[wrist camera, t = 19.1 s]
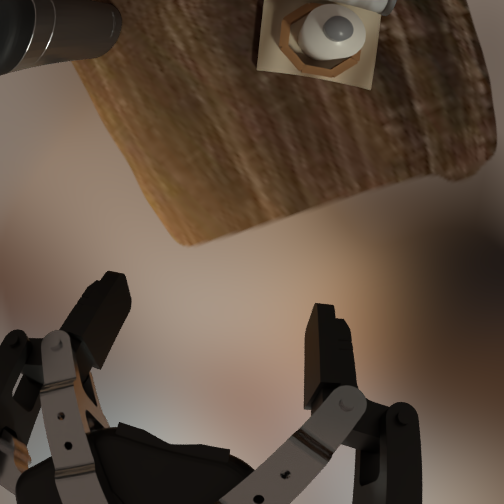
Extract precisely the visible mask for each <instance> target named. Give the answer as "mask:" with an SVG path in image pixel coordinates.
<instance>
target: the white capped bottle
mask: <svg viewBox="0 0 504 504" xmlns="http://www.w3.org/2000/svg"><path fill="white" fill-rule="evenodd" d="M365 38H366V31H365V27H364V24H363V22H362V21H361V19H360V18H359V16H358V15H357V14H356V13H354V12H353V11H352V10H350V9H348V8H346V7H344V6H341V5H337V4H325V5H321V6H319V7H317V8H315V9H313V10H312V11H311V12H310V13H309V15H308V16H307V18H306V20H305V22H304V24H303V26H302V28H301V30H300V32H299V34H298V45H299V47H300V49H301V51H302V52H303V53H304V54H305V55H306V56H308V57H309V58H311V59H314V60H318V61H325V60H332V59H339V58H346V57H350V56H352V55H354V54H356V53H357V52H358V51H359V50H360V49H361V48H362V47H363V45H364V42H365Z"/></svg>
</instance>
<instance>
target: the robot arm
mask: <svg viewBox="0 0 504 504" xmlns="http://www.w3.org/2000/svg"><path fill="white" fill-rule="evenodd" d="M121 26H122V19H121V15H120V13H119V11H118V9H117V8H116V7H115V6H113V5H111V4H107V3H102V2H97V1H92V0H0V75H3V74H7V73H10V72H14V71H19V70H22V69H27V68H31V67H36V66H41V65H47V64H52V63H59V62H66V61H74V60H83V59H92V58H97V57H99V56H102V55H103V54H105V53H106V52H108V51H109V50H110V49H111V48H112V46H113V45H114V44H115V42H116V41H117V39H118V37H119V34H120V31H121ZM130 309H131V296H130V292H129V288H128V284H127V280H126V276H125V275H124V274H123V273H118V272H112V271H107V272H106V273H105V274H104V276H103V277H102V279H101V280H100V281H98V280H96V281H95V282H94V283H93V284H91V285H90V286H88V287H87V289H86V290H85V292H84V293H83V295H82V297H81V298H80V299H79V301H78V302H77V304H76V305H75V307H74V308H73V309H72V311H71V313H70V314H69V316H68V317H67V319H66V320H65V322H64V324H63V325H62V327H61V328H60V329H59V330H55V331H52V332H50V333H48V334H47V335H46V336H45V337H44V338H28V337H27V336H26V334H25V332H24V331H22V330H13V331H11V332H10V333H8V335H6V337H5V338H4V340H3V342H2V343H1V345H0V485H1V486H3V487H4V488H6V489H7V490H9V491H10V492H11V493H13V494H14V495H15V496H16V501H17V504H290V503H291V502H292V501H293V500H294V499H295V498H296V497H297V496H298V495H299V494H300V493H301V492H302V491H303V490H304V489H305V488H306V487H307V486H308V484H309V483H310V482H311V481H312V480H313V479H314V478H315V477H316V476H317V475H318V474H319V472H320V471H321V470H322V469H323V468H324V467H325V466H326V464H327V463H328V462H329V461H330V459H331V457H332V455H333V453H334V452H335V451H336V449H337V448H338V447H339V446H340V444H343V445H346V446H349V447H352V448H355V449H356V455H355V475H354V489H353V502H352V504H422V458H421V441H420V430H419V420H418V414H417V412H416V410H415V409H414V408H413V407H412V406H411V405H410V404H408V403H405V402H397V403H395V404H393V405H391V406H390V407H388V406H385V405H381V404H378V403H375V402H372V401H370V400H368V399H367V398H365V396H364V394H363V393H362V392H361V391H360V390H359V389H358V386H357V381H356V371H355V362H354V354H353V346H352V343H351V341H352V339H351V332H350V328H349V327H348V325H347V323H346V322H345V320H344V319H338V318H335V309H334V305H329V304H320V303H315V304H314V307H313V310H312V313H311V316H310V319H309V322H308V325H307V328H306V333H305V367H304V368H305V369H304V374H305V375H304V409H306V410H311V417H310V418H309V419H308V420H307V421H306V422H305V423H304V425H302V427H301V428H300V429H299V430H298V431H296V432H295V433H294V434H293V435H292V436H291V437H290V438H289V439H288V440H287V441H286V442H285V443H284V444H283V445H281V446H280V447H279V448H278V449H277V450H276V452H274V453H273V454H272V455H271V456H270V457H269V458H268V459H267V460H266V461H265V462H264V463H263V464H261V465H260V466H259V467H258V468H257V469H256V470H254V469H253V468H252V467H251V466H249V465H248V464H247V463H245V462H244V461H243V460H241V459H239V458H237V457H235V456H233V455H230V449H224V448H218V447H212V446H207V445H202V444H197V445H174V444H169V443H166V442H164V441H163V440H161V439H159V438H157V437H156V436H154V435H152V434H150V433H148V432H147V431H145V430H143V429H139V428H136V427H133V426H130V425H127V424H124V423H121V422H119V424H118V427H110V426H109V424H108V422H107V420H106V418H105V416H104V414H103V412H102V410H101V407H100V403H99V399H98V396H97V393H96V389H95V385H94V381H93V377H92V373H91V372H90V370H91V368H92V367H94V368H97V369H100V370H101V368H102V366H103V364H104V362H105V359H106V358H107V355H108V353H109V351H110V349H111V347H112V345H113V343H114V341H115V339H116V337H117V335H118V333H119V331H120V329H121V327H122V325H123V323H124V321H125V319H126V318H127V316H128V313H129V312H130ZM20 373H22V374H23V376H22V378H21V380H20V383H19V385H18V387H17V389H16V391H15V394H14V396H12V391H13V388H14V386H15V384H16V382H17V379H18V377H19V375H20ZM41 407H42V413H43V419H44V424H45V429H46V434H47V439H48V443H49V447H50V451H51V455H52V456H51V457H49V458H47V459H46V460H44V461H42V462H40V463H38V464H37V465H35V466H33V467H31V468H28V465H29V464H30V463H31V457H30V455H29V453H28V450H27V444H28V441H29V438H30V435H31V432H32V429H33V427H34V424H35V421H36V418H37V416H38V413H39V410H40V408H41Z"/></svg>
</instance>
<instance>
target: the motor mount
mask: <svg viewBox="0 0 504 504" xmlns="http://www.w3.org/2000/svg"><path fill="white" fill-rule="evenodd" d="M395 3H396V0H264V5H263V15H262V24H261V33H260V43H259V53H258V62H257V70H260V71H270V72H279V73H287V74H294V75H301V76H307V77H313V78H319V79H324V80H329V81H334V82H339V83H344V84H348V85H352V86H357V87H361V88H365V89H369V90H371V84H372V78H373V72H374V65H375V59H376V51H377V44H378V36H379V27H380V18H381V15H384V16H387V15H389V14H390V13H391V11H392V10H393V8H394V6H395ZM325 4H337V5H341V6H344V7H346V8H348V9H350V10H352V11H353V12H354V13H356V14H357V15H358V16H359V18H360V19H361V21H362V22H363V24H364V27H365V31H366V38H365V42H364V45H363V47H362V48H361V49H360V50H359V51H358V52H357V53H356V54H354V55H352V56H350V57H346V58H339V59H332V60H325V61H318V60H314V59H311V58H309V57H308V56H306V55H305V54H304V53H303V52H302V51H301V49H300V47H299V45H298V34H299V32H300V30H301V28H302V26H303V24H304V22H305V20H306V18H307V16H308V15H309V13H310V12H311V11H312V10H313V9H315V8H317V7H319V6H321V5H325Z"/></svg>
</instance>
